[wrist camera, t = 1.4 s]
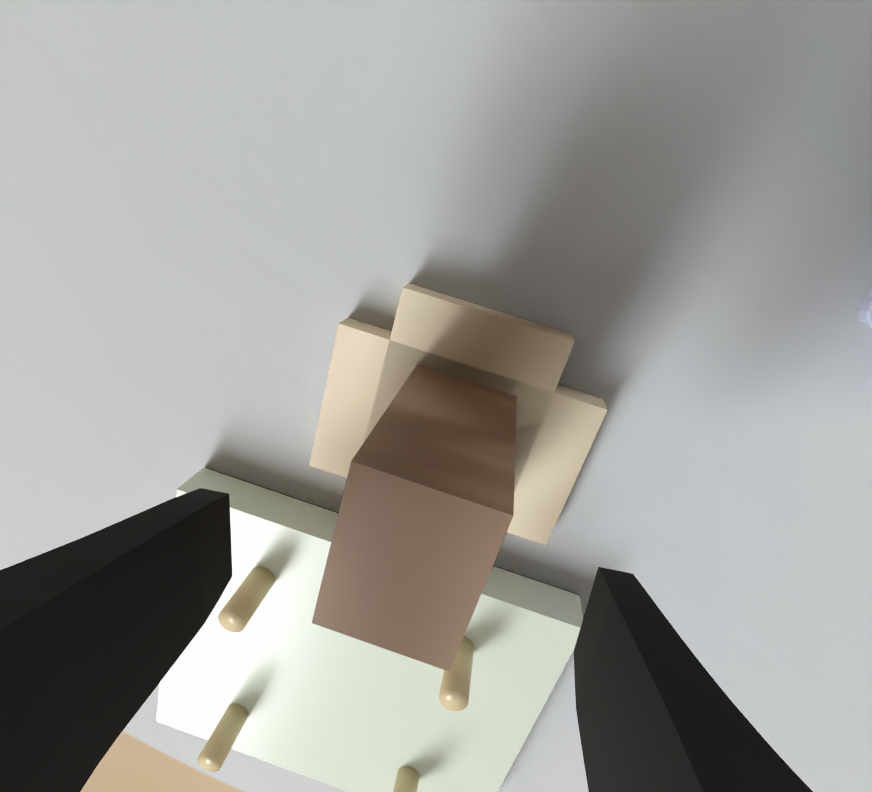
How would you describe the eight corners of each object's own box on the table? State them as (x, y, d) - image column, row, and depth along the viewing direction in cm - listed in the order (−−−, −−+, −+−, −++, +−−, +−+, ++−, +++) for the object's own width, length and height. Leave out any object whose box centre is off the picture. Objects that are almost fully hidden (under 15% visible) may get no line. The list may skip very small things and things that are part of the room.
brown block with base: (623, 349, 14) (708, 465, 8) (529, 562, 17) (533, 772, 11) (360, 266, 15) (232, 310, 8) (312, 488, 18) (191, 649, 11)
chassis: (579, 595, 17) (593, 685, 14) (475, 797, 22) (467, 901, 18) (203, 467, 18) (133, 524, 15) (178, 689, 22) (121, 770, 19)
